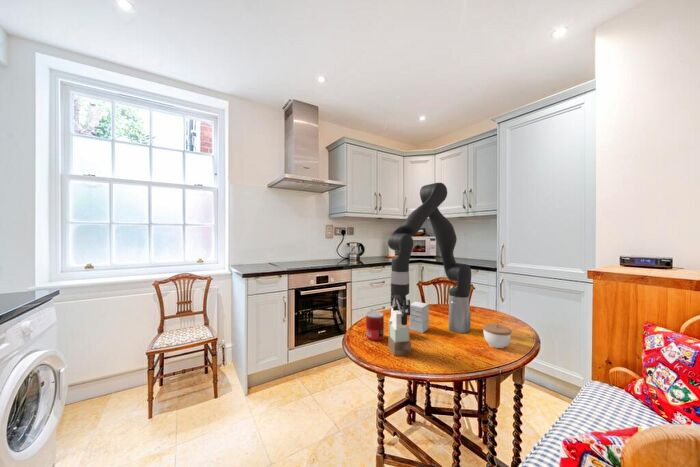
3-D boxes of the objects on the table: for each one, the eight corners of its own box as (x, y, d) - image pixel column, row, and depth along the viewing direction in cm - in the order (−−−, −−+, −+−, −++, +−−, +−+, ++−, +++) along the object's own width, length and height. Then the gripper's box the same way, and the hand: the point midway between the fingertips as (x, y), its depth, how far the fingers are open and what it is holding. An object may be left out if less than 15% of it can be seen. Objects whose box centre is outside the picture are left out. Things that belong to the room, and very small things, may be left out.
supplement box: (415, 325, 134) (415, 301, 133) (429, 328, 129) (429, 303, 129) (408, 329, 128) (408, 304, 128) (422, 333, 123) (422, 307, 123)
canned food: (382, 341, 113) (383, 317, 113) (365, 340, 115) (365, 316, 115) (384, 335, 121) (384, 311, 121) (367, 333, 122) (367, 310, 122)
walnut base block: (403, 346, 110) (403, 334, 109) (410, 354, 103) (411, 341, 103) (388, 347, 108) (388, 336, 108) (394, 355, 101) (394, 343, 101)
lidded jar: (503, 353, 103) (503, 330, 103) (477, 343, 112) (477, 322, 112) (516, 347, 109) (516, 325, 109) (491, 338, 118) (491, 318, 118)
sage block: (403, 335, 109) (403, 323, 109) (409, 341, 103) (409, 328, 103) (389, 336, 108) (389, 324, 108) (395, 342, 102) (395, 329, 102)
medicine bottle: (405, 331, 125) (405, 307, 125) (403, 337, 118) (404, 311, 118) (391, 329, 127) (391, 305, 127) (388, 335, 120) (388, 310, 120)
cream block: (402, 324, 108) (402, 310, 108) (407, 328, 104) (407, 313, 104) (392, 324, 107) (392, 310, 107) (396, 329, 103) (396, 314, 103)
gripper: (416, 285, 99) (416, 326, 99) (401, 278, 113) (400, 314, 113) (398, 286, 97) (398, 328, 98) (385, 279, 111) (384, 316, 112)
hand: (399, 321), depth 105 cm, fingers open, 8 cm apart
